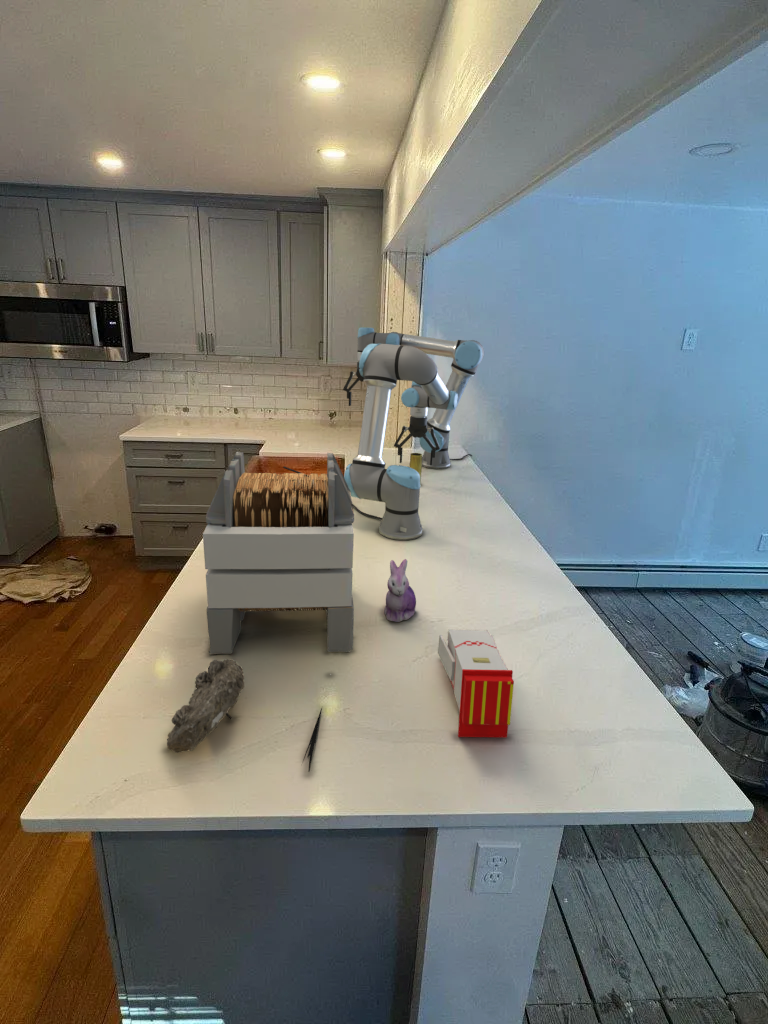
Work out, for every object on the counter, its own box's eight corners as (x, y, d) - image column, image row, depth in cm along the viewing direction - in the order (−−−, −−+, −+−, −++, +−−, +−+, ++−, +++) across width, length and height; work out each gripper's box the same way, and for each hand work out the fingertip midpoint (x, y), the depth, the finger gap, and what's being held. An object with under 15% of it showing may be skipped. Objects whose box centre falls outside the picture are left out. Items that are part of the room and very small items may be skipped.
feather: (331, 679, 122) (336, 673, 122) (307, 777, 96) (313, 769, 95) (324, 675, 122) (329, 669, 121) (298, 772, 95) (304, 764, 95)
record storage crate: (229, 585, 158) (221, 442, 144) (346, 584, 161) (350, 444, 148) (206, 656, 126) (193, 481, 112) (353, 652, 130) (358, 483, 116)
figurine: (392, 627, 141) (395, 572, 136) (374, 608, 149) (376, 556, 144) (425, 619, 145) (429, 566, 140) (405, 601, 154) (408, 550, 149)
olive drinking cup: (406, 486, 254) (408, 455, 249) (408, 482, 260) (410, 452, 255) (420, 487, 253) (422, 456, 248) (421, 483, 259) (423, 453, 254)
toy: (488, 613, 130) (523, 677, 101) (484, 667, 133) (517, 744, 104) (435, 612, 130) (455, 676, 101) (432, 666, 133) (451, 743, 103)
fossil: (192, 660, 117) (244, 628, 112) (224, 691, 120) (276, 661, 115) (142, 746, 98) (202, 712, 93) (182, 779, 101) (242, 748, 96)
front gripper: (389, 415, 244) (387, 463, 251) (447, 419, 241) (443, 467, 248) (391, 412, 251) (389, 459, 258) (447, 416, 248) (444, 463, 255)
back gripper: (337, 360, 267) (336, 405, 274) (390, 363, 264) (388, 409, 271) (340, 359, 274) (340, 403, 281) (392, 362, 271) (389, 406, 278)
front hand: (415, 463), depth 253 cm, fingers open, 13 cm apart
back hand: (363, 406), depth 276 cm, fingers open, 13 cm apart
